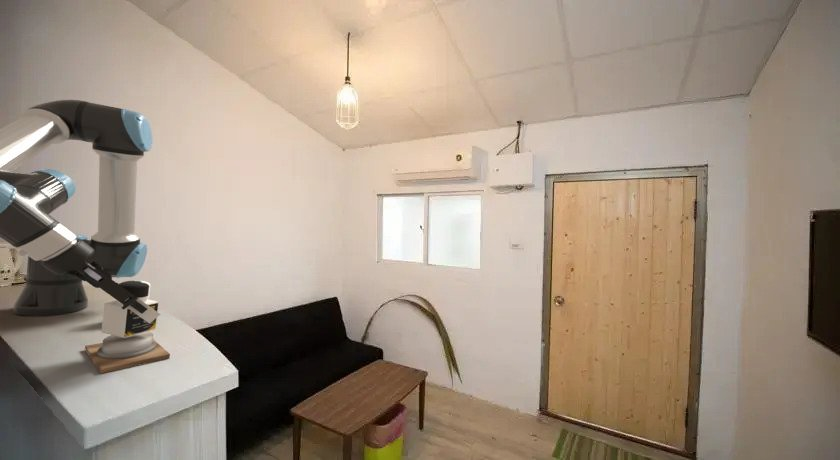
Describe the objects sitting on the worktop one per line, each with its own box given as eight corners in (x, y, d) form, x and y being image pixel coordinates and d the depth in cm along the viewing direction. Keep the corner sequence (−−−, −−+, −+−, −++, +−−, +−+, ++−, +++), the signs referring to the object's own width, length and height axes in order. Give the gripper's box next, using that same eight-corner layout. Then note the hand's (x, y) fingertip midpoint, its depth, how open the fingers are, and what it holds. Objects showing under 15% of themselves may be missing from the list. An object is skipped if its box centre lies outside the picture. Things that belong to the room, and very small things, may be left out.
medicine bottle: (124, 338, 72) (130, 286, 72) (100, 333, 74) (105, 281, 74) (156, 329, 79) (161, 281, 79) (133, 324, 81) (138, 277, 81)
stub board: (84, 349, 76) (86, 333, 76) (148, 338, 86) (149, 324, 86) (100, 373, 67) (102, 355, 67) (169, 358, 77) (171, 341, 77)
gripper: (31, 254, 70) (120, 314, 83) (45, 272, 58) (147, 339, 71) (69, 232, 74) (148, 292, 88) (90, 243, 62) (178, 312, 75)
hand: (148, 313), depth 79 cm, fingers closed on medicine bottle, 9 cm apart
